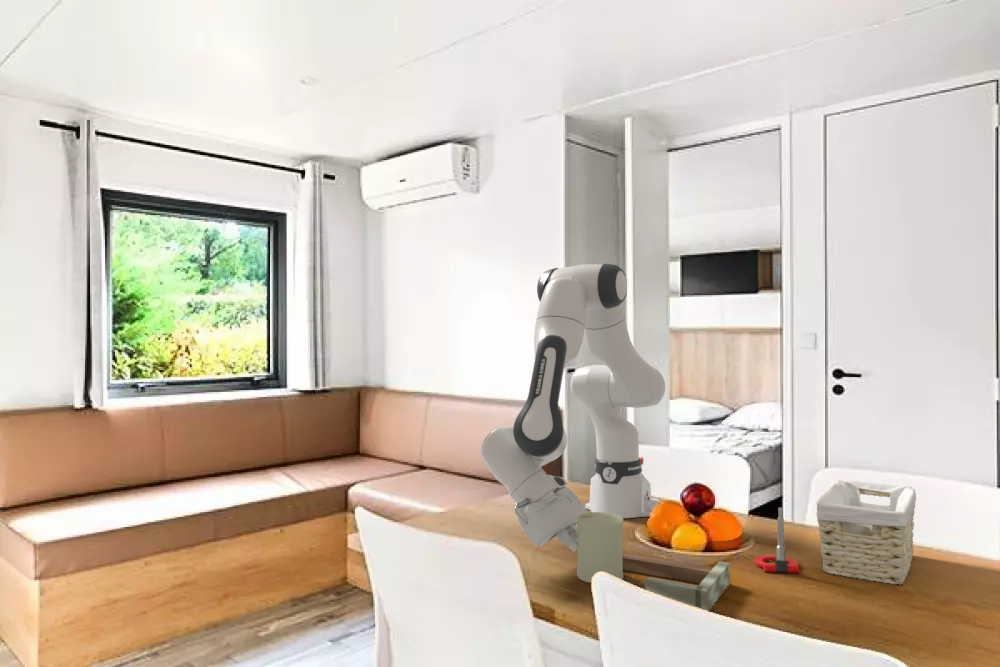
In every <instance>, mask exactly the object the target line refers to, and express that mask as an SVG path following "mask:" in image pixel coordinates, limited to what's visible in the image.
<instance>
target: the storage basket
mask: <svg viewBox="0 0 1000 667" xmlns="http://www.w3.org/2000/svg"><path fill="white" fill-rule="evenodd" d="M861 495H866V496H874V497H885V498H889V501H890V502H889V503H890V504H889V505H880V504H875V503H874V504H873V503H867V502H862V501H861ZM916 501H917V494H916V489H915V488H913V487H912V486H910V485H909V486H908V485H907V486H905V485H896V484H887V483H886V484H885V483H878V482H868V481H867V482H866V481H858V480H845V479H836V480H834V481H833V483H831V484H830V485H829V487H828V488H826V490H825V491H824V492H823V494H821V496H820V497H819V498H818V500H817V502H816V519H817V524H818V529H819V530H818V531H819V541H820V545H819V546H820V553H821V557H822V569H823V571H824V572H825V573H827V574H829V573H830V574H829V575H833V574H835V575H834V576H841V575H842V577H845V576H846V578H853V579H856V578H858V580H863V579H865V580H864V581H869V580H870V581H869V582H873V581H876V582H875V583H883V582H884V583H883V584H885V583H890V584H889V585H897V584H899V586H901V584H902V585H903V584H904V582H905V580H906V578H907V576H908V572H910V570H911V569H910V568H911V566H912V564H911V563H912V560H913V555H914V552H915V550H914V540H913V539H914V538H913V537H914V531H915V530H914V527H915V521H914V515H915V509H916ZM913 530H914V531H913Z"/></svg>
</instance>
